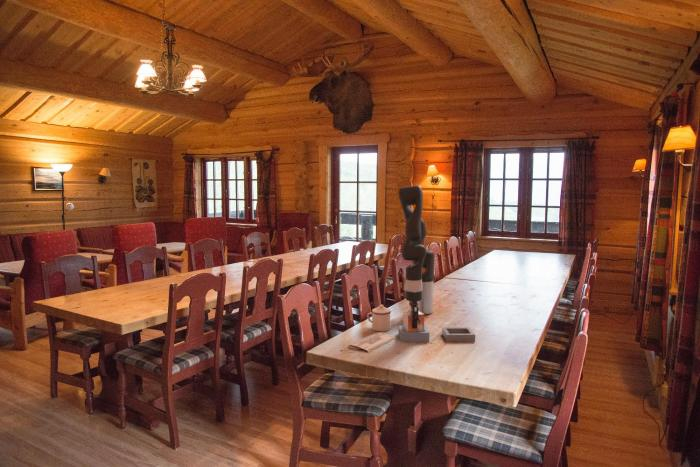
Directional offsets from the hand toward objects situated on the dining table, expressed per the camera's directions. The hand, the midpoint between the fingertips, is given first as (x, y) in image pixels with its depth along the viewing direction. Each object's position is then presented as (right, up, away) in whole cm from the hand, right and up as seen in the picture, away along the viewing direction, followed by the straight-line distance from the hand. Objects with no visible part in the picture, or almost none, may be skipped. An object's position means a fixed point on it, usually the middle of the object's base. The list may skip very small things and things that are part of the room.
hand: (413, 325), depth 211 cm
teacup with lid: (-15, -4, +15) cm, 21 cm away
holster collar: (+20, -5, 0) cm, 21 cm away
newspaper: (-19, -7, -5) cm, 21 cm away
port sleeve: (0, -5, 0) cm, 6 cm away
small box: (0, -5, 0) cm, 5 cm away
